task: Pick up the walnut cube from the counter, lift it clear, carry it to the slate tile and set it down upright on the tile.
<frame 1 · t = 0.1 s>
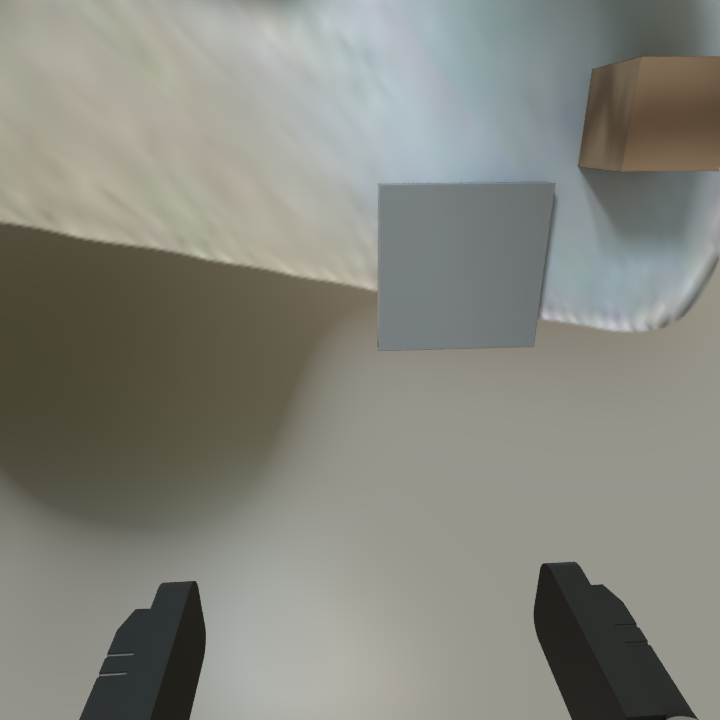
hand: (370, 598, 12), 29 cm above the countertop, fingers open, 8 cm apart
slate tile: (458, 267, 39), on the countertop
walnut cube: (627, 119, 36), on the countertop
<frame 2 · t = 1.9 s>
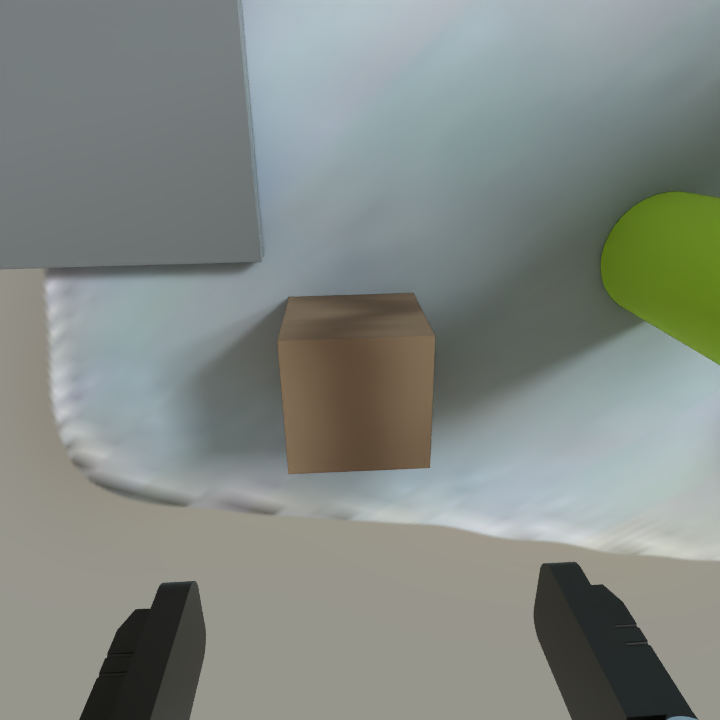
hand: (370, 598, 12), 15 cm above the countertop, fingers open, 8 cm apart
soap dispenser: (657, 264, 26), on the countertop
slate tile: (105, 115, 22), on the countertop
walnut cube: (352, 351, 27), on the countertop
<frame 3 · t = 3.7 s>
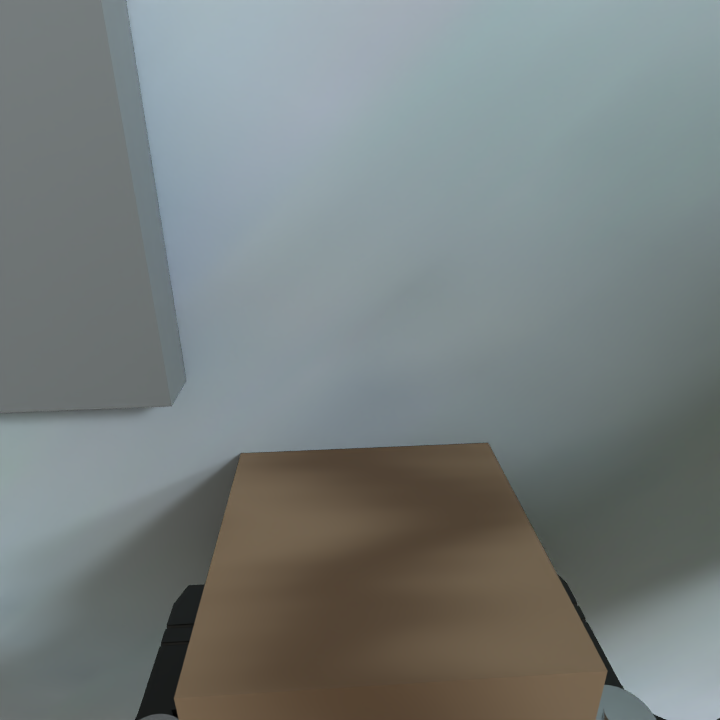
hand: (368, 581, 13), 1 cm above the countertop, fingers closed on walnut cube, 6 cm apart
walnut cube: (366, 545, 14), on the countertop, touching gripper
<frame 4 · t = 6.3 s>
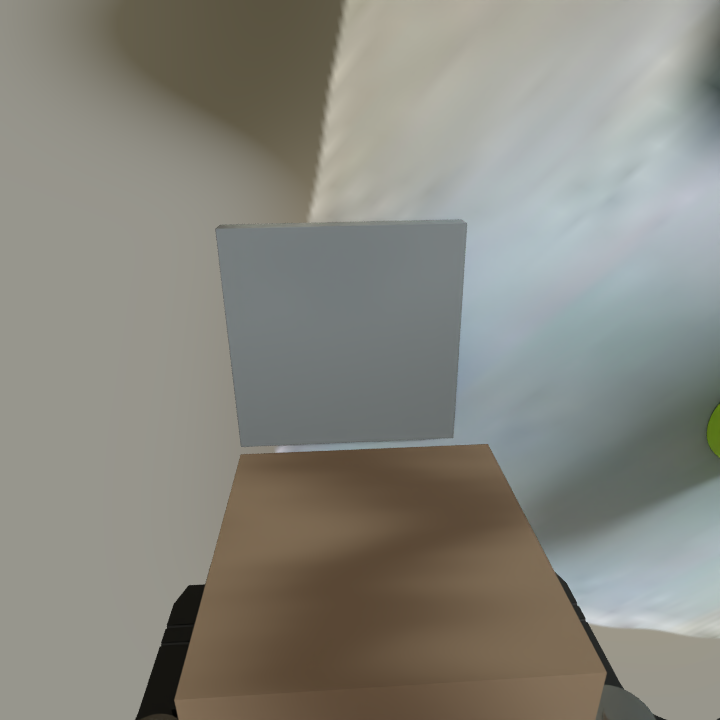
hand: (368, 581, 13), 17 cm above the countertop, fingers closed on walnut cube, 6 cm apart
slate tile: (344, 335, 29), on the countertop
walnut cube: (366, 546, 14), point 16 cm above the countertop, touching gripper
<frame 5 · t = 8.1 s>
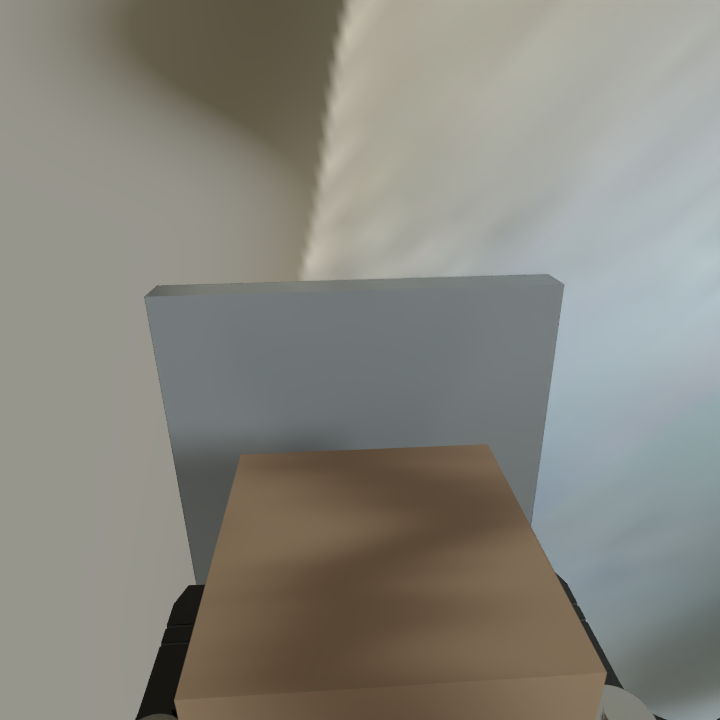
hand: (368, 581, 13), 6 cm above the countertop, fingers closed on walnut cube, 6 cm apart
slate tile: (359, 447, 19), on the countertop
walnut cube: (366, 546, 14), point 5 cm above the countertop, touching gripper
when the fingers open (4 cm above the countertop, at t = 9.3 s): walnut cube drops 1 cm, resting on slate tile.
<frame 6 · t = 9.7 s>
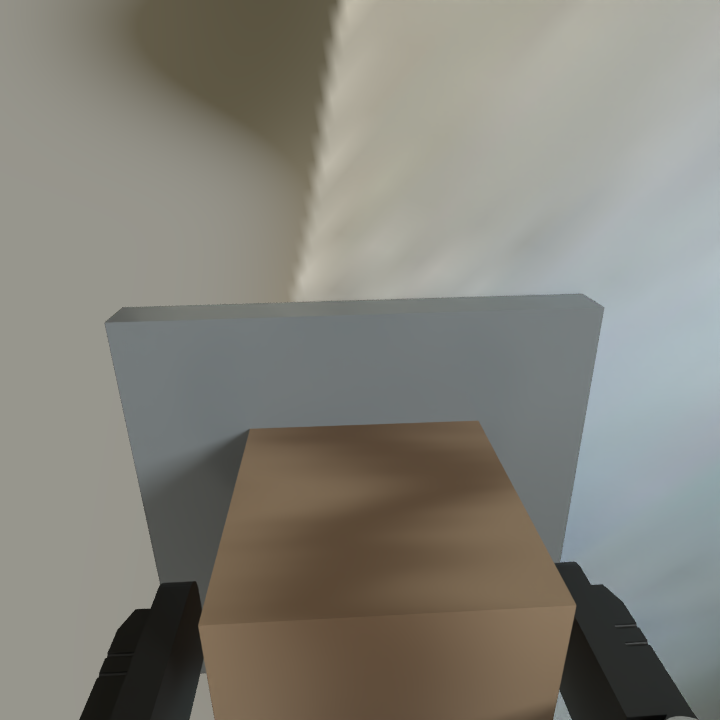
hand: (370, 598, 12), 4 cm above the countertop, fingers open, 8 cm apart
slate tile: (360, 490, 16), on the countertop
walnut cube: (365, 516, 15), point 1 cm above the countertop, touching slate tile
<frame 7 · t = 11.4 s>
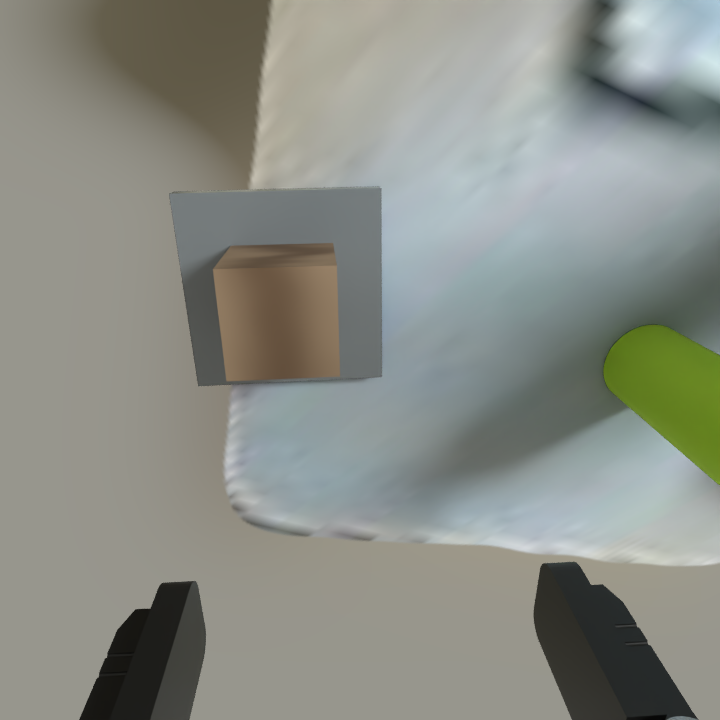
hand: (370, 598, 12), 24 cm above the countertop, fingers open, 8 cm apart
soap dispenser: (641, 368, 38), on the countertop
slate tile: (285, 287, 34), on the countertop
walnut cube: (285, 293, 32), point 1 cm above the countertop, touching slate tile
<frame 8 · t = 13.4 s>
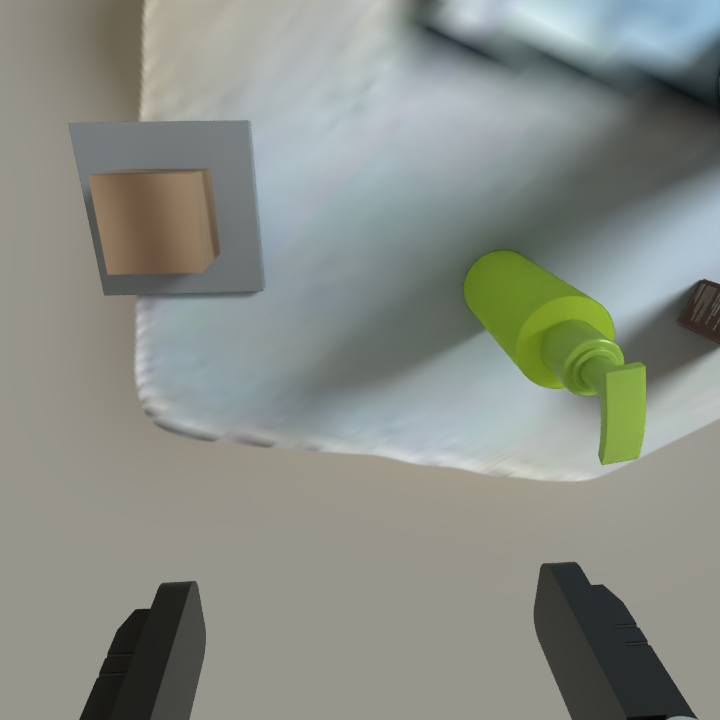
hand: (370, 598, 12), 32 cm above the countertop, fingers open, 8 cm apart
soap dispenser: (498, 291, 43), on the countertop
box: (715, 307, 45), on the countertop
slate tile: (176, 210, 39), on the countertop
walnut cube: (173, 212, 38), point 1 cm above the countertop, touching slate tile
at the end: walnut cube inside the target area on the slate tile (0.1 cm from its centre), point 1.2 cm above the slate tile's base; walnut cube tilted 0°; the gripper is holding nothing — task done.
